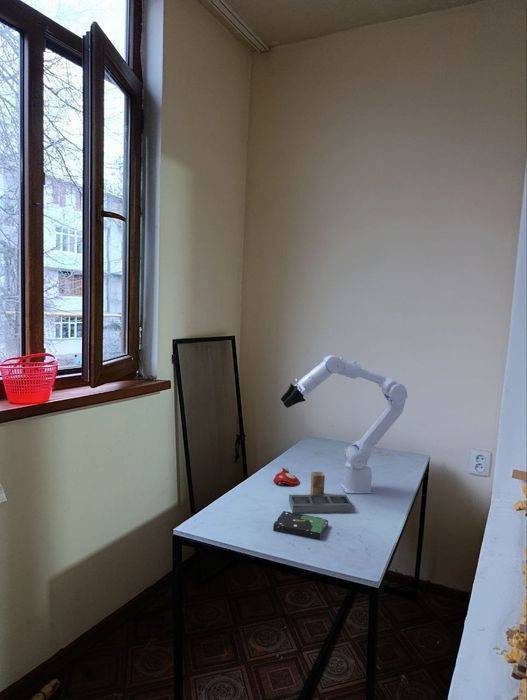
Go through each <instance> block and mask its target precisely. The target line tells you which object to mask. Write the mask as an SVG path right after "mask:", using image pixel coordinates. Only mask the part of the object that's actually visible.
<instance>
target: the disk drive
mask: <svg viewBox="0 0 527 700" xmlns="http://www.w3.org/2000/svg"><path fill="white" fill-rule="evenodd" d="M328 527H329V521H328V519H326V518H322V517H319V516H313V515H308V514H303V513H293V512H292V511H285V510H284V511H282V512H281V514H280V515H279V516H278V517H277V520H275V521H274V522H273V527H272V528H273V529H272V530H273V532H276V533H281V534H282V533H283V534H287V535H291V536H297V537H302V538H307V539H311V540H317V541H321V540H323V539H322V538H323V536H324V534H325V533H326V530H327V529H328Z"/></svg>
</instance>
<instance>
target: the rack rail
mask: <svg viewBox="0 0 527 700" xmlns="http://www.w3.org/2000/svg"><path fill="white" fill-rule="evenodd" d="M288 504H289V506H290V510H291V512H292V513H297V514H337V513H338V514H339V513H341V514H343V513H344V514H347V513H350V514H351V513H353V511H354V510H353V507H354V506H353V503H352V501H350V499H349V498H348V495H347V494H324V495H311V494H288Z"/></svg>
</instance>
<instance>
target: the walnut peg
mask: <svg viewBox="0 0 527 700" xmlns="http://www.w3.org/2000/svg"><path fill="white" fill-rule="evenodd" d="M325 477H326V475H325V474H324V471H311V475H310V495H325V481H326V480H325Z"/></svg>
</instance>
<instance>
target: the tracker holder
mask: <svg viewBox="0 0 527 700" xmlns="http://www.w3.org/2000/svg"><path fill="white" fill-rule="evenodd" d="M281 468H282V470H281V471H280V472H278V473H276V474H275V476H274V478H273V479H272V481H273V483H274V484H275V485H278V484H279V483H284V484H286V485H289V486H294V487H297V486H299V484H300V479H299V478H298V477H297V476H295V475H294V474H293V473H290V471H289V468H286V467H284V466H282V467H281Z"/></svg>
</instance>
